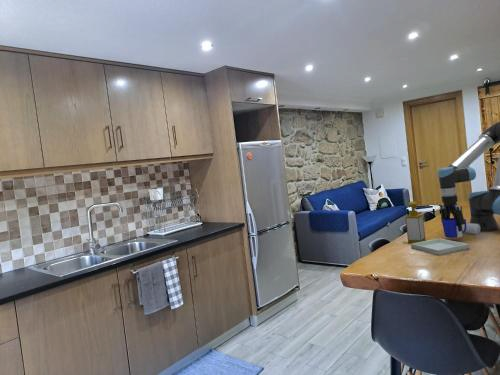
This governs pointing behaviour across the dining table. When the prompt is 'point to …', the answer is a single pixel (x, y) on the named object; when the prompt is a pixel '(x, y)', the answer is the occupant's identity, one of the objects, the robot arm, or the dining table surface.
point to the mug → (451, 227)
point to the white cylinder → (471, 228)
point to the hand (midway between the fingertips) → (454, 236)
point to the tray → (439, 246)
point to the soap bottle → (415, 225)
